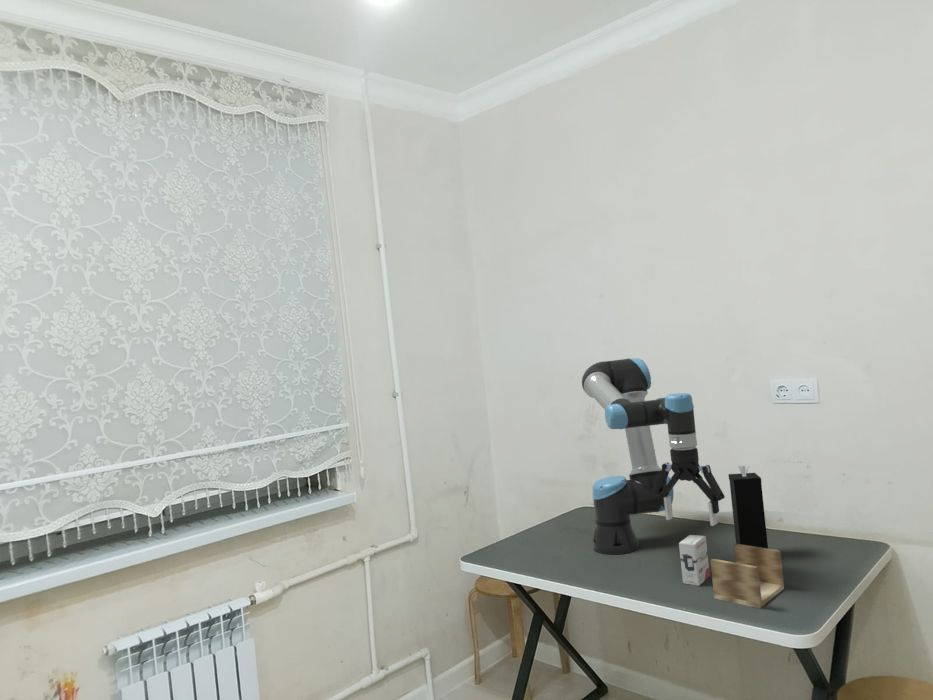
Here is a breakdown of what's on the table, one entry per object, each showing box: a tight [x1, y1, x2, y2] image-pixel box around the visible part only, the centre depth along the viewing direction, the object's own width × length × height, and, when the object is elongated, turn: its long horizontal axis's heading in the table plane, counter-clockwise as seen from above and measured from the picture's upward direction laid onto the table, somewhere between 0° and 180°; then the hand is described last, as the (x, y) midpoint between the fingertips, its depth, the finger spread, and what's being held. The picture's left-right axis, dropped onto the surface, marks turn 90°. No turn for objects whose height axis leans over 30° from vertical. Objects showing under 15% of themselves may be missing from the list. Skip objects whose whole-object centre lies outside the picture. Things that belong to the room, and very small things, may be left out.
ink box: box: [678, 534, 711, 586], centre depth 184 cm, size 8×5×12 cm, turn 140°
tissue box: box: [728, 465, 769, 549], centre depth 198 cm, size 8×8×28 cm
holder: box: [709, 543, 785, 609], centre depth 171 cm, size 12×15×10 cm
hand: (691, 521), depth 184 cm, fingers open, 13 cm apart
